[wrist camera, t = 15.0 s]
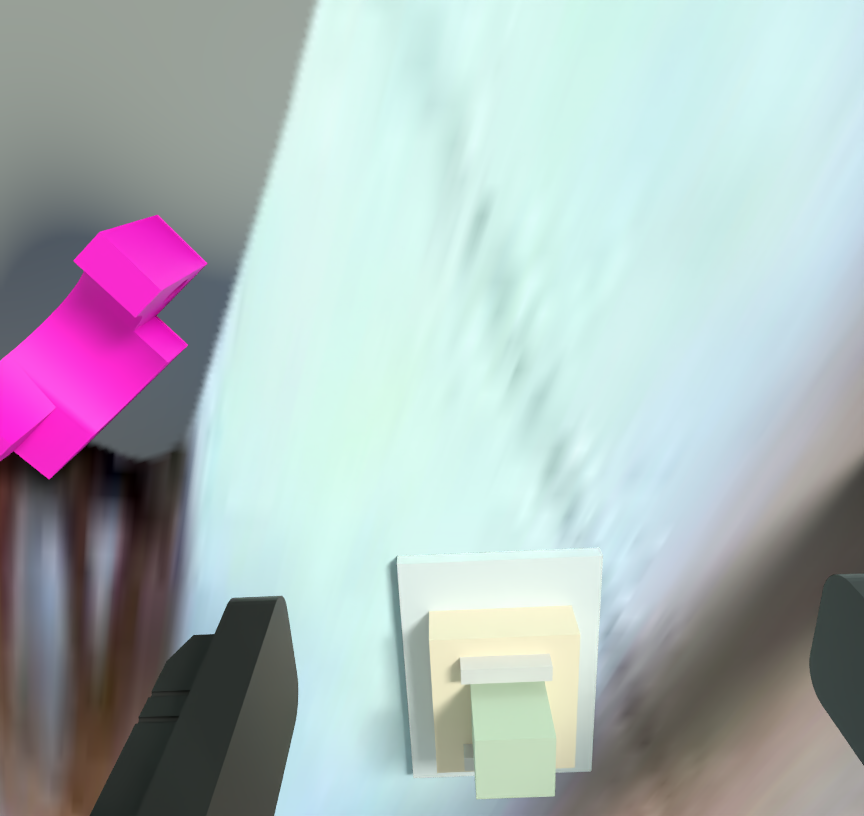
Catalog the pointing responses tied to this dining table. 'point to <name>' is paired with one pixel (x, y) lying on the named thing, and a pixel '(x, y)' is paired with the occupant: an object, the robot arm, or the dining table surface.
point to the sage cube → (512, 740)
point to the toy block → (95, 344)
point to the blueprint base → (496, 592)
